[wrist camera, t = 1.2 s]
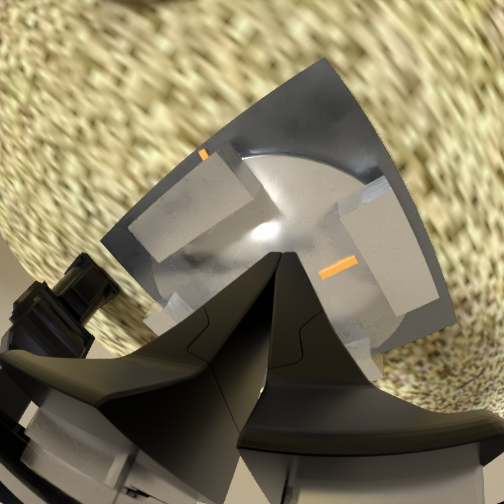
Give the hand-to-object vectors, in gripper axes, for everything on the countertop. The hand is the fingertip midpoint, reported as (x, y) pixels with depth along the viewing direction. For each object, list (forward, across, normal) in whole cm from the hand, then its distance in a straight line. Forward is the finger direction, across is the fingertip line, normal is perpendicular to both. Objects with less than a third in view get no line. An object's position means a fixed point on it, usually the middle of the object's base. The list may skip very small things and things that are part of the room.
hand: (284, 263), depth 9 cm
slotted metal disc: (+11, +3, +10) cm, 15 cm away
